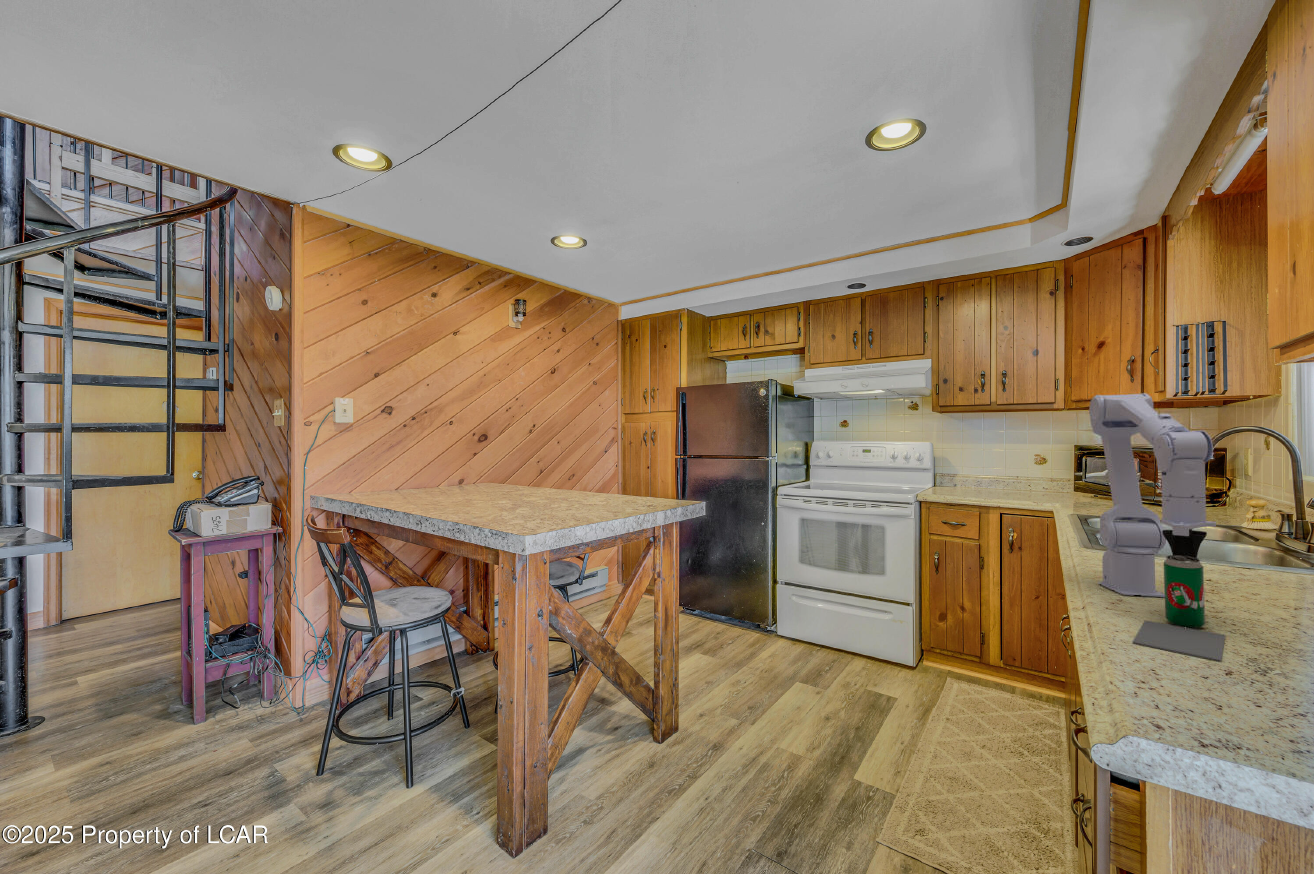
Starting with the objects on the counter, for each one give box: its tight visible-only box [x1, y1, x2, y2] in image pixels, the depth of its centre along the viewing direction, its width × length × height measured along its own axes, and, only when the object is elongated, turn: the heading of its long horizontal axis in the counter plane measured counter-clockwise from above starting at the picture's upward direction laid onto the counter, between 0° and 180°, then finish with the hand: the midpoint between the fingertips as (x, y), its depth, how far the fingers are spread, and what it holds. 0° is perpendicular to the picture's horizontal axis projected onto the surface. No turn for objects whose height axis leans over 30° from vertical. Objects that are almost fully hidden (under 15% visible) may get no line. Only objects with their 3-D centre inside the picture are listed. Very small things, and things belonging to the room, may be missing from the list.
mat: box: [1132, 619, 1226, 662], centre depth 88 cm, size 15×10×1 cm, turn 131°
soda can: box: [1163, 554, 1206, 629], centre depth 94 cm, size 5×5×12 cm
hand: (1185, 570), depth 96 cm, fingers closed
